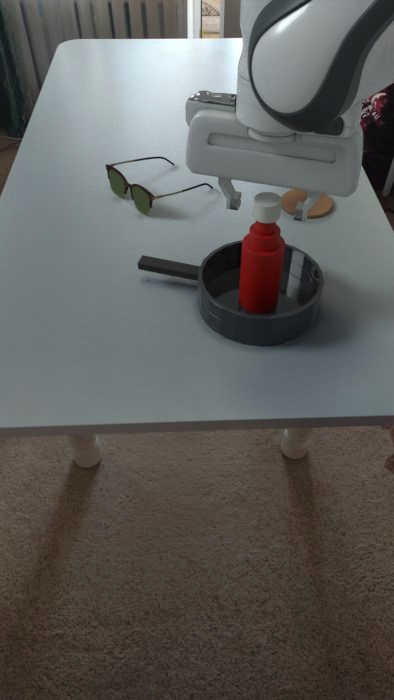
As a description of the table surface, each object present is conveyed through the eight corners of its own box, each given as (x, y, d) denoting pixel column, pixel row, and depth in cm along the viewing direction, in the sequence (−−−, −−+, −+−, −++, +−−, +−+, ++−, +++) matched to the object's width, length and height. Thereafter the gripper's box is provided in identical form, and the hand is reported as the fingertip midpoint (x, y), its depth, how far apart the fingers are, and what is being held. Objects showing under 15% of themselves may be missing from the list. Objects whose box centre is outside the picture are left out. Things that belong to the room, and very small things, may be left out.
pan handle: (203, 273, 80) (203, 266, 79) (198, 281, 78) (198, 275, 78) (143, 261, 82) (142, 254, 81) (138, 269, 80) (137, 262, 80)
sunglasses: (106, 188, 101) (104, 162, 98) (169, 168, 108) (170, 143, 105) (153, 221, 93) (153, 194, 90) (217, 197, 101) (220, 172, 97)
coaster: (335, 195, 99) (335, 192, 98) (327, 222, 93) (328, 219, 93) (285, 187, 101) (286, 184, 100) (275, 213, 95) (275, 210, 95)
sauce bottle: (281, 291, 80) (295, 190, 68) (273, 316, 76) (286, 214, 64) (244, 284, 81) (251, 184, 69) (234, 308, 78) (239, 207, 66)
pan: (326, 277, 83) (332, 250, 79) (306, 357, 72) (312, 330, 68) (217, 257, 87) (218, 230, 83) (182, 330, 75) (181, 302, 72)
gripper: (175, 99, 58) (179, 212, 68) (371, 124, 54) (344, 241, 64) (193, 78, 62) (195, 187, 73) (377, 99, 58) (351, 212, 68)
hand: (266, 212), depth 68 cm, fingers open, 7 cm apart
